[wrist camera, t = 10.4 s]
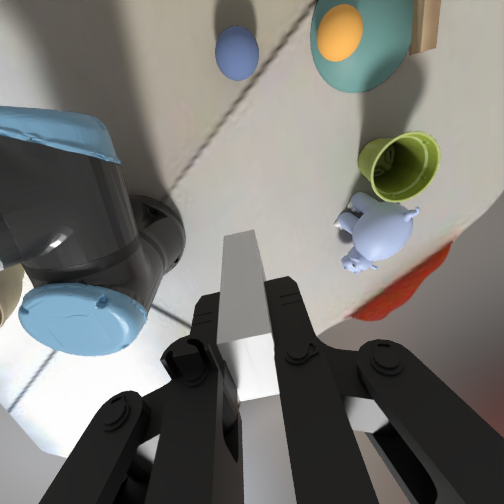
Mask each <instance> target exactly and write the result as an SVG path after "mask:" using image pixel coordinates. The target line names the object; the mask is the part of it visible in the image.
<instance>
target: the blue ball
mask: <svg viewBox="0 0 504 504" xmlns="http://www.w3.org/2000/svg"><path fill="white" fill-rule="evenodd" d="M215 56H216V62H217V65H218V67H219V69H220V70H221V72H222V73H223V74H224V75H225V76H226V77H228V78H229V79H232V80H236V81H240V80H244V79H246V78H248V77H249V76H250V75H251V74H252V73H253V72H254V71H255V69H256V67H257V64H258V60H259V48H258V44H257V41H256V39H255V37H254V36H253V34H252V33H251V32H250V31H249V30H247V29H246V28H244V27H241V26H232V27H229V28H227V29H226V30H224V31H223V32H222V33H221V35H220V36H219V38H218V40H217V43H216V48H215Z"/></svg>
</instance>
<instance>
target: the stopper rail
mask: <svg viewBox="0 0 504 504" xmlns="http://www.w3.org/2000/svg"><path fill="white" fill-rule="evenodd" d="M440 5H441V0H414V6H413V21H412V36H411V44H410V54H409V55H412V54H415V53H419V52H423V51H427V50H430V49H434V48H436V44H437V34H438V24H439V15H440Z"/></svg>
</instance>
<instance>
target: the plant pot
mask: <svg viewBox="0 0 504 504" xmlns="http://www.w3.org/2000/svg"><path fill="white" fill-rule="evenodd" d="M389 151H391V154H392V157H391V159H389V156H390V153H389ZM440 158H441V154H440V148H439V145H438V143H437V142H436V140H435V139H434V138H433V137H432V136H431V135H429V134H427V133H425V132H420V131H412V132H407V133H403V134H401V135H399V136H397V137H395V138H381V139H375V140H373V141H371V142H369V143H368V144H367V145H366V146H365V147H364V149H363V150H362V151H361V153H360V155H359V158H358V167H359V170H360V172H361V173H362V174H363V175H364V176H365V177H366V178H367V179H368V180H369V181H370V182H371V186H372V188H373V190H374V192H375V193H376V194H377V195H378V196H379V197H380V198H381V199H383V200H385V201H388V202H403V201H407V200H409V199H412V198H414V197H415V196H417V195H418V194H420V193H421V192H423V191H424V190H425V189H426V188H427V187H428V186H429V185H430V183H431V182H432V180H433V179H434V177H435V175H436V173H437V171H438V169H439V165H440ZM377 160H378V161H377ZM378 171H380V172H379V173H378V174H374V172H378Z"/></svg>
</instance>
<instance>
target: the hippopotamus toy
mask: <svg viewBox="0 0 504 504" xmlns="http://www.w3.org/2000/svg"><path fill="white" fill-rule="evenodd" d="M347 208H351V210H352V211H353V212H356V211H357V212H358V213H361V212H362V213H363V215H362V216H361V218H360V219H359V218H357V217H356V216H355V215H353V214H352V213H349V212H344V213H342V214H340V215H339V217H338V219H337V221H336V222H335V224H334V225H335V226H336V227H339V229H341V230H345V231H348V232H349V233H350V234H352V239H353V245H354V247H353V248H352V249H351V250H350V251H349V253H348V255H347V256H345V257H343V258H342V259H341V264H342V267H343V268H344V269H345V270H349V271H352V272H354V273H355V274H358V273H359V272H360V271H364V270H366V269H368V268H369V267H371V268H373V269H375V270H376V269H377V266H373V265H372V262H373V261H378V260H383V259H386V258H388V257H391V256H392V255H394V254H396V253H397V252H398V251H399V250H400V249H401V248H402V247H403V246H404V245H405V244H406V242H407V241H408V239H409V237H410V235H411V232H412V229H413V219H412V217H414V216H416V215H417V214H419V212H420V208H419V207H416V208H415V209H416V210H409V211H408V210H407V209H406V208H405V207H404V206H402V205H400V204H398V203H395V202H388V201H383V202H379V201H377V200H375V199H374V198H372V197H370V196H369V195H367V194H365V193H363V192H358V193H356V194H354V195H353V196H352V198H351V201H350V202H349V204H348V205H347Z"/></svg>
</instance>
